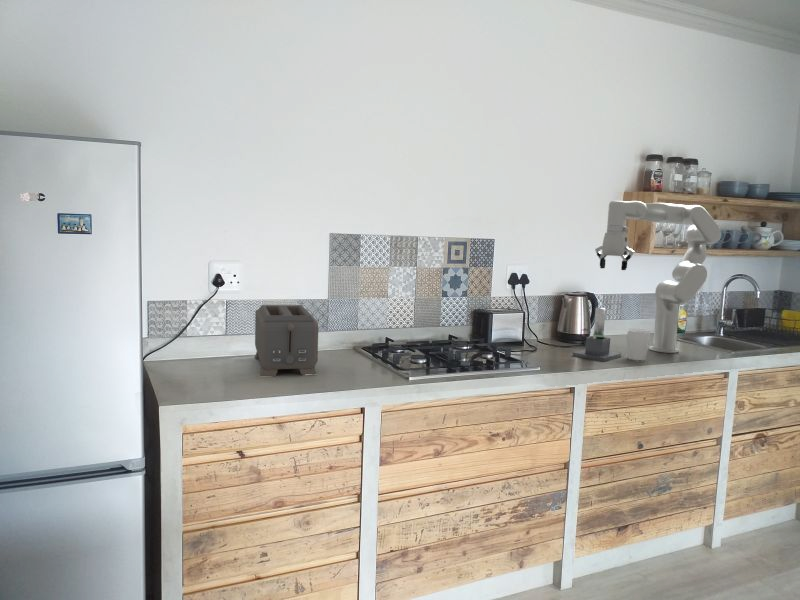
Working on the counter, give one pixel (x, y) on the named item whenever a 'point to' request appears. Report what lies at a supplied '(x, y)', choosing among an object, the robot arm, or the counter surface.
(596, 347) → the stand base
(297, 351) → the toaster
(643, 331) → the cup
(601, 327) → the column
